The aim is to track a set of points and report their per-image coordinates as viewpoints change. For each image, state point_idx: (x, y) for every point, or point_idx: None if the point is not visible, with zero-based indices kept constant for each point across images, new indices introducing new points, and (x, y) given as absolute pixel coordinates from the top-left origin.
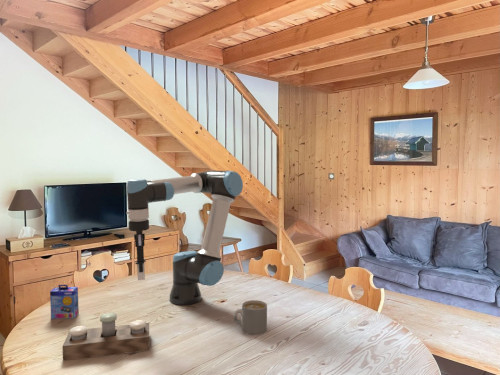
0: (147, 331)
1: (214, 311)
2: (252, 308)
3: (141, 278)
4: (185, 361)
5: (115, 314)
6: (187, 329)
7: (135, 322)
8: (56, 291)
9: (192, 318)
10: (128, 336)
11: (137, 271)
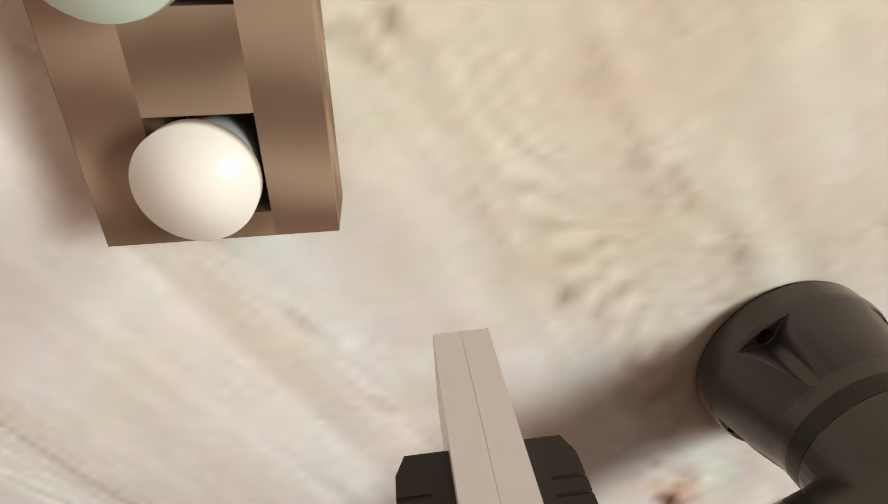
0: None
1: None
2: None
3: (438, 390)
4: (28, 374)
5: (132, 7)
6: (383, 374)
7: (211, 167)
8: None
9: (512, 391)
10: (105, 109)
11: (447, 434)
